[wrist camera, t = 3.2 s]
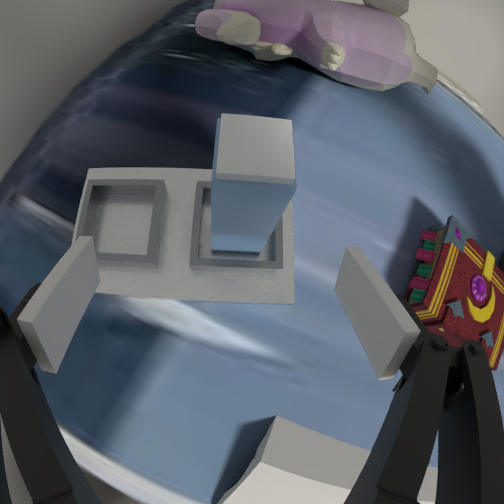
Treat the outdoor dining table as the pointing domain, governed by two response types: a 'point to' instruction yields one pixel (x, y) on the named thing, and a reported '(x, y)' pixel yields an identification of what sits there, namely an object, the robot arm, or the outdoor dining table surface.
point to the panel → (175, 240)
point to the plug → (250, 181)
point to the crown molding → (306, 469)
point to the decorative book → (459, 290)
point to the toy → (325, 38)
